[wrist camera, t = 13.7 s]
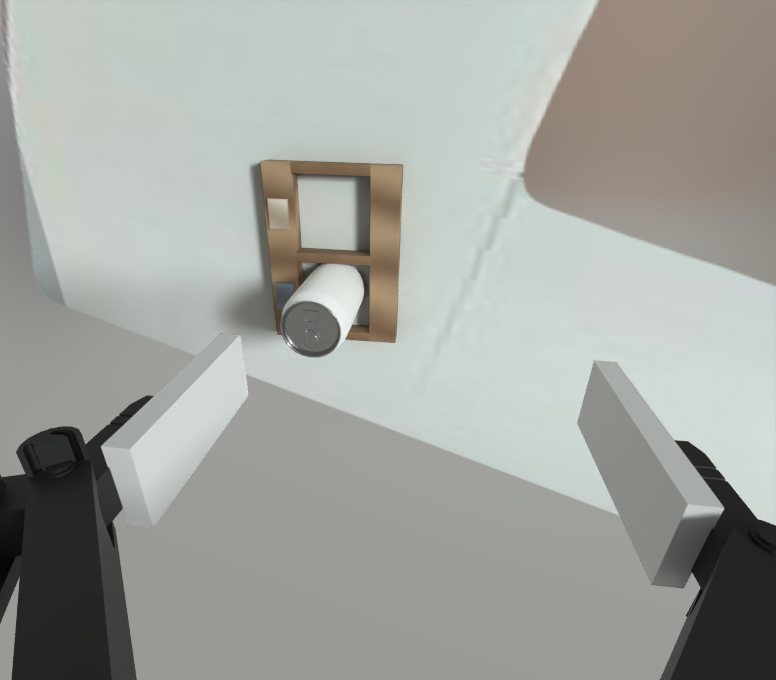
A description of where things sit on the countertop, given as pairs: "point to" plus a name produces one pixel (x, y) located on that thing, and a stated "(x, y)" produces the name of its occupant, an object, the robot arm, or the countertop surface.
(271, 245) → the socket board
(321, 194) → the countertop surface
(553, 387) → the countertop surface
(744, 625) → the robot arm
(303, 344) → the can
